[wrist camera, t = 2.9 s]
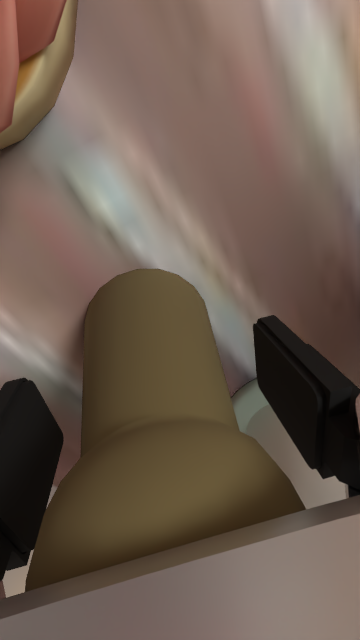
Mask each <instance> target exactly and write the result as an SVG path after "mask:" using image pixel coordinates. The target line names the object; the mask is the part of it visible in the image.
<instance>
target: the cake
mask: <svg viewBox="0 0 360 640" xmlns="http://www.w3.org/2000/svg"><path fill="white" fill-rule="evenodd" d="M77 5H78V0H0V150H1V149H3V148H5V147H7V146H10V145H12V144H14V143H16V142H18V141H21V140H23V139H24V138H25V137H26V136H27V135H28V134H29V133H30V132H31V131H32V130H33V128H34V127H35V126H36V125H37V124H38V123H39V122H40V121H41V120H42V119H43V118H44V116H45V115H46V114H47V113H48V112H49V111H50V110H51V109H52V108H53V107H54V105H55V102H56V100H57V97H58V95H59V92H60V90H61V87H62V85H63V82H64V79H65V77H66V74H67V72H68V69H69V67H70V64H71V62H72V59H73V55H74V42H75V30H76V17H77Z"/></svg>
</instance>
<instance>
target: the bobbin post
mask: <svg viewBox="0 0 360 640" xmlns="http://www.w3.org/2000/svg"><path fill="white" fill-rule="evenodd" d="M231 401H232V405H233V408H234V412H235V415H236V419H237V423H238V426H239V430H240V431H241V432H243V433H245V434H247V435H249V436H251V437H253V438H255V439H256V440H257V442H258V443H259V444H260V445H261V446H262V447H263V448H264V450H265V451H266V452H267V453H268V454H269V455H270V456H271V458H272V459H273V460H274V461H275V462H276V463H277V465H278V466H279V467H280V468H281V470H282V471H283V472H284V473H285V474H286V476H287V477H288V478H289V479H290V481H291V483H292V484H293V486H294V488H295V490H296V492H297V493H298V495H299V497H300V499H301V501H302V502H303V504H304V506H305V508H306V509H310V508H313V507H317V506H321V505H324V504H328V503H332V502H336V501H339V500H343V499H346V493H345V484H344V483H342V482H340V481H338V479H337V478H336V476H333V477H329V478H326V479H322V477H321V476H320V474H319V473H318V471H317V469H313V470H312V469H311V468H310V467H309V466H308V465H307V463H306V462H305V460H304V458H303V457H302V455H301V454H300V452H299V451H298V449H297V447H296V446H295V444H294V443H293V441H292V439H291V438H290V436H289V435H288V433H287V432H286V430H285V428H284V427H283V425H282V424H281V422H280V420H279V419H278V417H277V416H276V414H275V412H274V411H273V409H272V408H271V406H270V405H269V403H268V401H267V400H266V398H265V397H264V395H263V393H262V392H261V390H260V388H259V386H258V382H257V378H256V379H254V380H252V381H251V382H249V383H247V384H246V385H244V386H243V387H242V388H241V389H239V390H238V391H237V392H236V393H235V394H234V395H233V396H232V398H231Z"/></svg>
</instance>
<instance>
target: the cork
mask: <svg viewBox="0 0 360 640" xmlns="http://www.w3.org/2000/svg"><path fill="white" fill-rule="evenodd" d="M303 510H306V508H305V506H304V504H303V502H302V501H301V499H300V497H299V495H298V493H297V492H296V490H295V488H294V486H293V484H292V483H291V481H290V479H289V478H288V477H287V476H286V474H285V473H284V472H283V471H282V470H281V468H280V467H279V466H278V465H277V463H276V462H275V461H274V460H273V459H272V458H271V456H270V455H269V454H268V453H267V452H266V451H265V450H264V448H263V447H262V446H261V445H260V444H259V443H258V442H257V440H256V439H255V438H253V437H251V436H249V435H247V434H245V433H243V432H241V431H240V430H239V426H238V423H237V419H236V415H235V412H234V408H233V405H232V401H231V397H230V394H229V390H228V386H227V383H226V379H225V375H224V372H223V368H222V364H221V361H220V357H219V353H218V350H217V346H216V342H215V339H214V335H213V331H212V328H211V324H210V320H209V317H208V313H207V309H206V306H205V302H204V300H203V299H202V297H201V296H200V294H199V293H198V291H197V290H196V289H195V287H194V286H193V285H191V284H190V283H189V282H187V281H186V280H184V279H183V278H182V277H180V276H179V275H176V274H173V273H170V272H167V271H164V270H161V269H136V270H133V271H130V272H127V273H124V274H121V275H117V276H116V277H114V278H113V279H112V280H110V281H109V282H108V283H106V284H105V285H103V286H102V287H101V288H100V289H99V290H98V292H97V293H96V295H95V296H94V298H93V299H92V301H91V302H90V303H89V306H88V310H87V314H86V318H85V327H84V360H83V394H82V428H81V458H80V459H79V461H78V462H77V463H76V464H75V465H74V467H73V468H72V469H71V470H70V471H69V472H68V474H67V475H66V476H65V477H64V478H63V480H62V481H61V482H60V484H59V486H58V488H57V490H56V492H55V494H54V496H53V497H52V499H51V501H50V503H49V505H48V507H47V509H46V511H45V513H44V516H43V519H42V523H41V527H40V530H39V534H38V537H37V541H36V545H35V548H34V552H33V555H32V560H31V563H30V567H29V571H28V574H27V578H26V586H25V592H28V591H31V590H34V589H37V588H41V587H44V586H47V585H51V584H54V583H57V582H61V581H64V580H67V579H71V578H74V577H77V576H81V575H84V574H87V573H91V572H94V571H98V570H101V569H104V568H108V567H111V566H114V565H118V564H121V563H125V562H128V561H131V560H135V559H138V558H141V557H145V556H148V555H152V554H155V553H158V552H162V551H165V550H169V549H172V548H175V547H179V546H182V545H186V544H189V543H192V542H196V541H199V540H203V539H206V538H209V537H213V536H216V535H220V534H223V533H227V532H230V531H234V530H237V529H240V528H244V527H247V526H251V525H254V524H258V523H261V522H265V521H268V520H272V519H275V518H279V517H282V516H285V515H289V514H292V513H296V512H299V511H303Z"/></svg>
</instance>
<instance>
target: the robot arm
mask: <svg viewBox="0 0 360 640" xmlns="http://www.w3.org/2000/svg"><path fill="white" fill-rule="evenodd" d="M253 332H254V346H255V359H256V372H257V382H258V386H259V388H260V390H261V392H262V393H263V395H264V397H265V398H266V400H267V401H268V403H269V405H270V406H271V408H272V409H273V411H274V412H275V414H276V416H277V417H278V419H279V420H280V422H281V424H282V425H283V427H284V428H285V430H286V432H287V433H288V435H289V436H290V438H291V439H292V441H293V443H294V444H295V446H296V447H297V449H298V451H299V452H300V454H301V455H302V457H303V458H304V460H305V462H306V463H307V465H308V466H309V467H310V468H311V469H312V470H313V469H317V471H318V473H319V474H320V476H321V477H322V479H326V478H329V477H333V476H336V478H337V479H338V481H340V482H342V483H344V484H345V493H346V499H343V500H339V501H336V502H332V503H328V504H324V505H321V506H317V507H313V508H310V509H306V510H303V511H299V512H296V513H292V514H289V515H285V516H282V517H279V518H275V519H272V520H268V521H265V522H261V523H258V524H254V525H251V526H247V527H244V528H240V529H237V530H234V531H230V532H227V533H223V534H220V535H216V536H213V537H209V538H206V539H203V540H199V541H196V542H192V543H189V544H186V545H182V546H179V547H175V548H172V549H169V550H165V551H162V552H158V553H155V554H152V555H148V556H145V557H141V558H138V559H135V560H131V561H128V562H125V563H121V564H118V565H114V566H111V567H108V568H104V569H101V570H98V571H94V572H91V573H87V574H84V575H81V576H77V577H74V578H71V579H67V580H64V581H61V582H57V583H54V584H51V585H47V586H44V587H41V588H37V589H34V590H31V591H28V592H24V593H21V594H18V595H14V596H11V597H8V598H6V596H5V591H4V586H3V581H2V579H3V577H4V574H5V571H6V570H7V571H8V570H11V569H15V568H18V567H22V566H26V565H27V562H28V559H29V555H30V552H31V550H33V549H34V548H35V545H36V541H37V537H38V534H39V530H40V527H41V523H42V519H43V516H44V513H45V511H46V507H47V503H48V499H49V495H50V491H51V488H52V484H53V480H54V476H55V472H56V468H57V464H58V461H59V457H60V453H61V449H62V445H63V433H62V431H61V429H60V428H59V426H58V424H57V422H56V421H55V419H54V417H53V415H52V413H51V412H50V410H49V408H48V406H47V405H46V403H45V401H44V399H43V398H42V396H41V394H40V392H39V391H38V389H37V387H36V385H35V384H34V382H33V381H31V380H29V381H28V380H27V379H26V378H20V379H16V380H12V381H8V382H6V383H5V384H4V385H3V387H2V388H1V390H0V640H360V389H359V388H358V387H357V386H356V385H354V384H353V383H352V382H351V381H350V380H349V379H348V378H347V377H346V376H344V375H343V374H342V373H341V372H340V371H339V370H338V369H337V368H335V367H334V366H333V365H332V364H331V363H330V362H329V361H328V360H327V359H325V358H324V357H323V356H322V355H321V354H320V353H319V352H318V351H316V350H315V349H314V348H313V347H312V346H311V345H309V344H305V343H304V342H303V341H302V340H301V339H300V338H299V337H298V336H297V335H296V334H294V333H293V332H292V331H291V330H290V329H289V328H288V327H287V326H286V325H285V324H284V323H282V322H281V321H280V320H279V319H278V318H277V317H276V316H274V315H271V316H267V317H263V318H259V319H258V320H257V323H256V324H254V325H253Z"/></svg>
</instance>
